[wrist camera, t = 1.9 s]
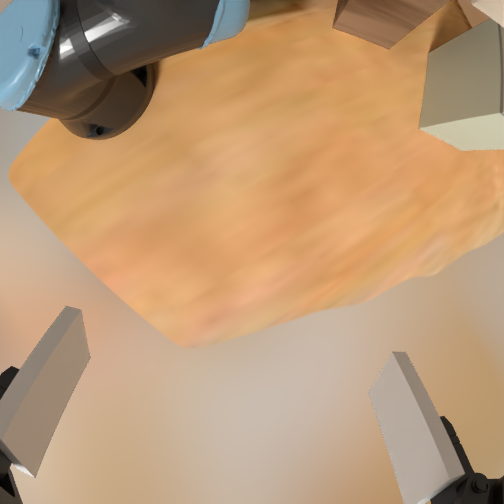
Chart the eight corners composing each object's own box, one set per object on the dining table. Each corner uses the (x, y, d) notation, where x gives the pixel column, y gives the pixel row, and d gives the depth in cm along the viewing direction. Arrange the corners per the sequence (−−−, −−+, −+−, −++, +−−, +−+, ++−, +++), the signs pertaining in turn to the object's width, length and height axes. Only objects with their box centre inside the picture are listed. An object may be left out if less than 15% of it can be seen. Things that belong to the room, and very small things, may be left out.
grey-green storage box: (461, 150, 38) (552, 149, 19) (418, 128, 38) (510, 111, 19) (469, 77, 35) (549, 53, 16) (428, 53, 34) (504, 11, 15)
